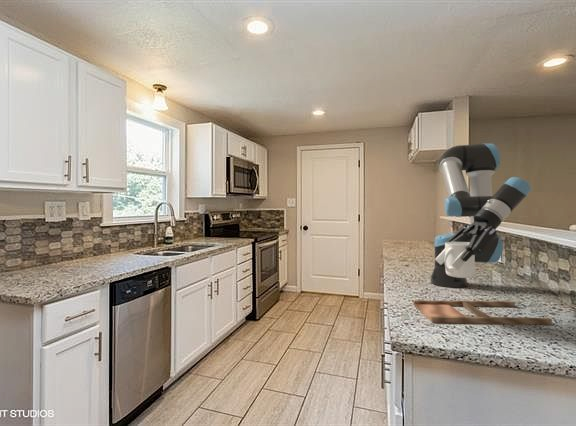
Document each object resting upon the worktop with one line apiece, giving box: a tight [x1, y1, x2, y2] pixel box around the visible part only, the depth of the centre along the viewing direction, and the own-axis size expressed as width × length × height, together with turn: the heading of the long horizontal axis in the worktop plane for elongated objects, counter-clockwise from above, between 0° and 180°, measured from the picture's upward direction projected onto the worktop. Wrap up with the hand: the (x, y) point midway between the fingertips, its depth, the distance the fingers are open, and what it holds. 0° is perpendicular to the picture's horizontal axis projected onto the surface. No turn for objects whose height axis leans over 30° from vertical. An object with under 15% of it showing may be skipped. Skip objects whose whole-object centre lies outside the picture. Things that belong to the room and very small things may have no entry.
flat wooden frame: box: [412, 299, 553, 325], centre depth 105 cm, size 35×18×2 cm, turn 85°
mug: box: [445, 242, 476, 279], centre depth 104 cm, size 9×12×11 cm
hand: (445, 264), depth 104 cm, fingers closed on mug, 9 cm apart
